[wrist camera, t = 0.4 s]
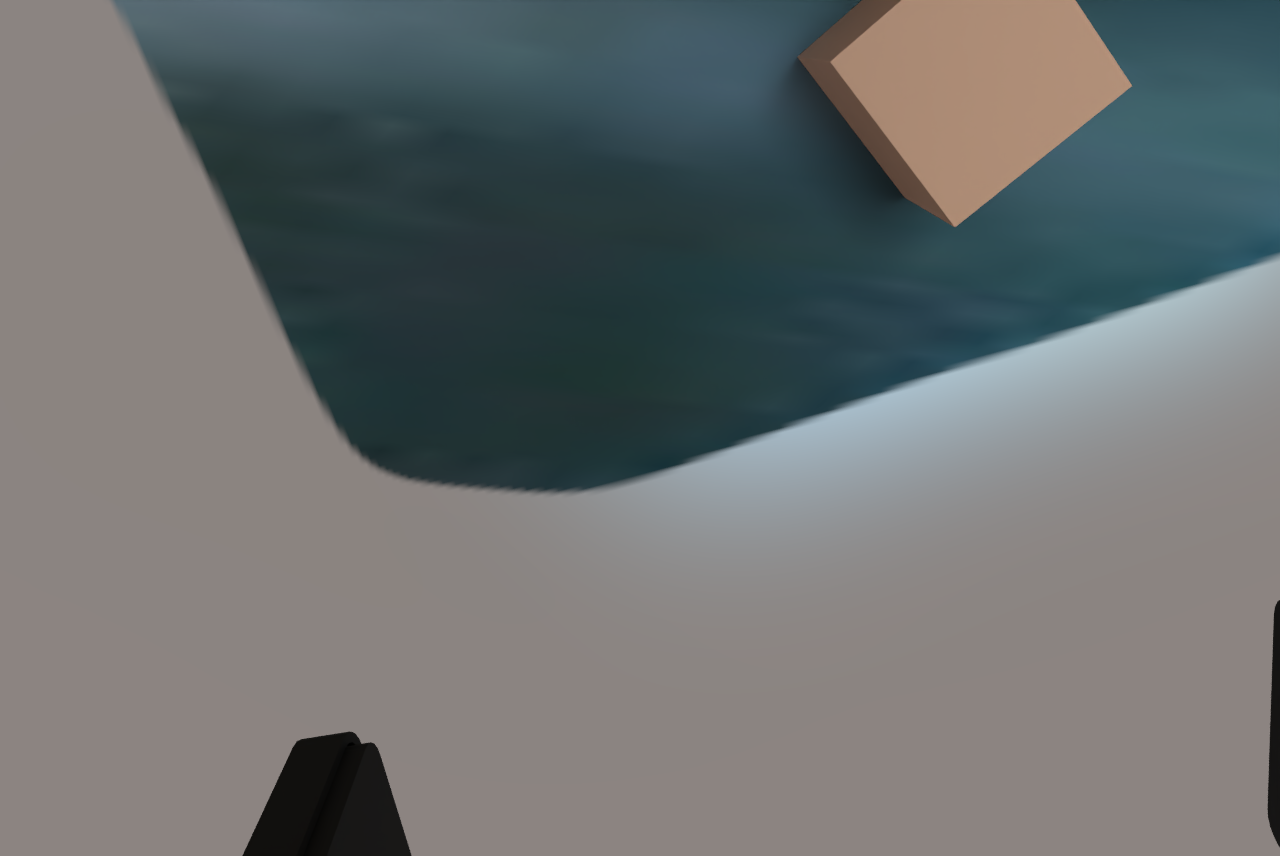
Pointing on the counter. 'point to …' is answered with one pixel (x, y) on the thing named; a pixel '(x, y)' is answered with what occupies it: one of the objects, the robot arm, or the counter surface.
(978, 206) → the terracotta cube
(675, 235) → the counter surface
